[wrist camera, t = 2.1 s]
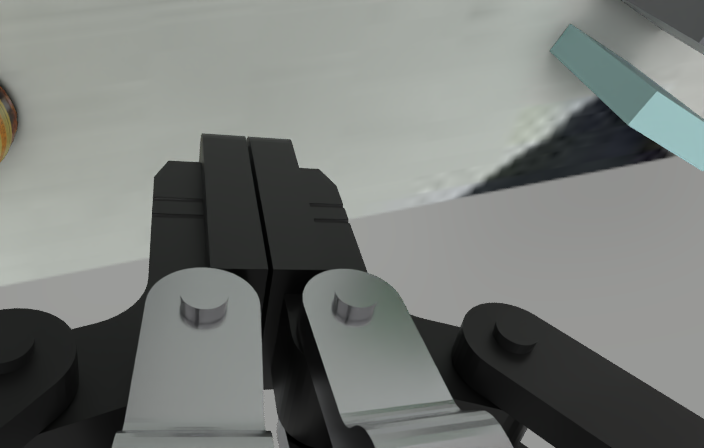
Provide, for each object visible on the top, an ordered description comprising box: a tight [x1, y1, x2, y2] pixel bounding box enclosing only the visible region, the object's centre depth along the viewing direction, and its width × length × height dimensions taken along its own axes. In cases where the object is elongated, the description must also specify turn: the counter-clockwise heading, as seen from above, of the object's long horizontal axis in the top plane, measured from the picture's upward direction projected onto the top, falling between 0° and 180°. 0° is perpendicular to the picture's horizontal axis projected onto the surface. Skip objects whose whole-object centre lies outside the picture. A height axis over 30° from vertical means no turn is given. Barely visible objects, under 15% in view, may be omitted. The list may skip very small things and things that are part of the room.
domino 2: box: [550, 24, 704, 171], centre depth 33 cm, size 2×5×10 cm, turn 59°
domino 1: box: [622, 0, 704, 55], centre depth 31 cm, size 2×5×10 cm, turn 59°
